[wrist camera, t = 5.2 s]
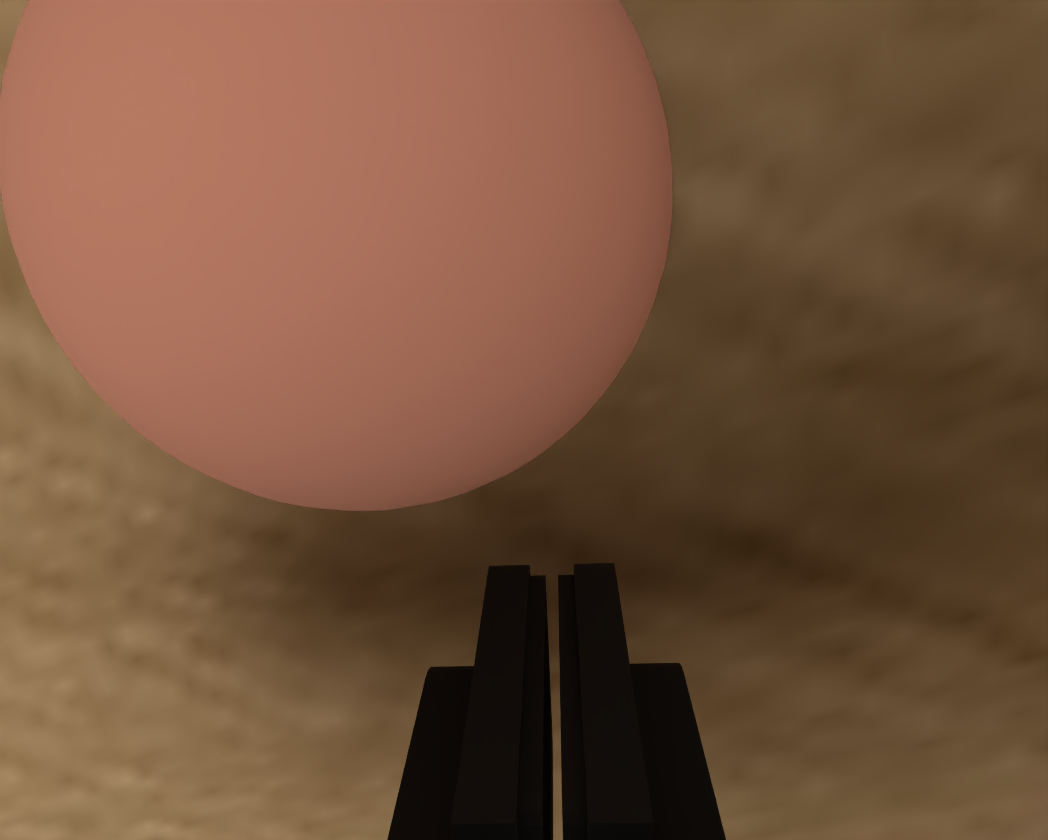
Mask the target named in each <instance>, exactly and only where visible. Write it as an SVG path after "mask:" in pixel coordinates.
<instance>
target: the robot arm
mask: <svg viewBox="0 0 1048 840" xmlns="http://www.w3.org/2000/svg"><path fill="white" fill-rule="evenodd" d="M558 594H559V651H560V708H561V765H562V815H563V840H726V838H725V834H724V830H723V826H722V822H721V818H720V814H719V810H718V806H717V802H716V798H715V795H714V791H713V787H712V783H711V779H710V775H709V771H708V767H707V763H706V759H705V755H704V751H703V747H702V743H701V739H700V735H699V731H698V727H697V723H696V719H695V715H694V711H693V707H692V703H691V699H690V696H689V692H688V688H687V684H686V680H685V676H684V673H683V669H682V666H681V665H680V664H679V663H647V664H629V657H628V651H627V644H626V638H625V631H624V624H623V618H622V611H621V605H620V598H619V592H618V585H617V578H616V572H615V566H614V563H596V564H574V575H558ZM388 840H553V741H552V715H551V692H550V668H549V645H548V621H547V598H546V577H545V575H544V576H530V566H529V565H506V566H489V569H488V575H487V582H486V589H485V596H484V602H483V609H482V616H481V623H480V630H479V636H478V643H477V650H476V657H475V664H474V666H455V667H430V669H429V670H428V672H427V675H426V678H425V682H424V687H423V691H422V695H421V699H420V704H419V708H418V712H417V716H416V721H415V725H414V729H413V733H412V738H411V742H410V746H409V750H408V755H407V759H406V763H405V767H404V772H403V776H402V780H401V784H400V789H399V793H398V797H397V801H396V806H395V810H394V814H393V818H392V823H391V827H390V831H389V835H388Z"/></svg>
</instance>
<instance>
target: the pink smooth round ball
mask: <svg viewBox="0 0 1048 840" xmlns="http://www.w3.org/2000/svg"><path fill="white" fill-rule="evenodd" d="M672 187H673V174H672V161H671V153H670V144H669V136H668V128H667V121H666V117H665V113H664V109H663V105H662V101H661V97H660V93H659V89H658V86H657V82H656V78H655V75H654V73H653V70H652V68H651V65H650V63H649V60H648V58H647V55H646V53H645V50H644V48H643V45H642V42H641V40H640V37H639V35H638V33H637V31H636V29H635V27H634V26H633V24H632V22H631V20H630V18H629V17H628V15H627V13H626V11H625V9H624V8H623V6H622V4H621V2H620V0H28V2H27V5H26V7H25V9H24V11H23V13H22V16H21V19H20V22H19V25H18V28H17V31H16V34H15V37H14V40H13V43H12V46H11V50H10V53H9V57H8V60H7V64H6V67H5V71H4V74H3V80H2V88H1V96H0V190H1V197H2V205H3V211H4V215H5V219H6V223H7V227H8V231H9V235H10V238H11V242H12V245H13V248H14V251H15V253H16V256H17V259H18V262H19V264H20V267H21V270H22V273H23V275H24V278H25V281H26V283H27V286H28V288H29V291H30V293H31V295H32V297H33V299H34V301H35V303H36V305H37V307H38V310H39V312H40V314H41V316H42V318H43V319H44V321H45V323H46V325H47V326H48V328H49V330H50V331H51V333H52V335H53V336H54V338H55V340H56V341H57V343H58V345H59V346H60V348H61V349H62V350H63V352H64V353H65V355H66V356H67V357H68V359H69V360H70V362H71V363H72V364H73V366H74V367H75V369H76V370H77V371H78V372H79V373H80V375H81V376H82V377H83V378H84V379H85V381H86V382H87V383H88V384H89V385H90V386H91V388H92V389H93V390H94V391H95V392H96V393H97V394H98V395H99V396H100V397H101V398H102V399H103V400H104V401H105V402H106V403H107V404H108V405H109V406H110V407H111V408H112V409H113V410H114V412H115V413H116V414H118V415H119V416H120V417H121V418H122V419H123V420H125V421H126V422H127V423H128V424H129V425H130V426H132V427H133V428H134V429H135V430H136V431H137V432H139V433H140V434H141V435H142V436H144V437H145V438H147V439H148V440H149V441H151V442H152V443H153V444H155V445H156V446H158V447H159V448H160V449H162V450H163V451H165V452H166V453H168V454H170V455H171V456H173V457H175V458H176V459H178V460H179V461H181V462H183V463H184V464H186V465H188V466H190V467H192V468H194V469H196V470H198V471H200V472H202V473H204V474H206V475H208V476H210V477H212V478H214V479H216V480H219V481H221V482H223V483H225V484H228V485H230V486H233V487H236V488H238V489H241V490H243V491H246V492H248V493H251V494H254V495H257V496H260V497H264V498H267V499H271V500H274V501H278V502H282V503H287V504H292V505H298V506H303V507H309V508H320V509H332V510H345V511H381V510H391V509H397V508H404V507H410V506H416V505H422V504H427V503H433V502H438V501H441V500H445V499H448V498H451V497H455V496H458V495H461V494H465V493H467V492H469V491H472V490H474V489H476V488H478V487H481V486H483V485H485V484H487V483H490V482H492V481H494V480H496V479H498V478H501V477H503V476H505V475H507V474H509V473H512V472H513V471H515V470H517V469H518V468H520V467H521V466H523V465H524V464H526V463H528V462H529V461H531V460H532V459H534V458H535V457H537V456H539V455H540V454H541V453H543V452H544V451H545V450H546V449H548V448H549V447H550V446H552V445H553V444H554V443H555V442H557V441H558V440H559V439H560V438H561V437H562V436H564V435H565V434H566V433H567V432H568V431H569V430H570V429H572V428H573V427H574V426H575V425H576V424H577V423H579V422H580V421H581V420H582V419H583V417H584V416H585V415H586V414H587V413H588V412H589V410H590V409H591V408H592V407H593V406H594V405H595V403H596V402H597V401H598V400H599V399H600V398H601V397H602V395H603V394H604V393H605V391H606V390H607V389H608V388H609V386H610V385H611V384H612V382H613V381H614V380H615V378H616V376H617V375H618V373H619V372H620V370H621V369H622V367H623V365H624V364H625V362H626V361H627V359H628V358H629V356H630V355H631V353H632V351H633V350H634V348H635V346H636V343H637V341H638V339H639V337H640V334H641V332H642V330H643V328H644V326H645V323H646V321H647V319H648V317H649V314H650V312H651V309H652V306H653V304H654V301H655V298H656V294H657V291H658V288H659V284H660V281H661V277H662V274H663V270H664V267H665V264H666V259H667V252H668V245H669V238H670V231H671V225H672Z"/></svg>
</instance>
